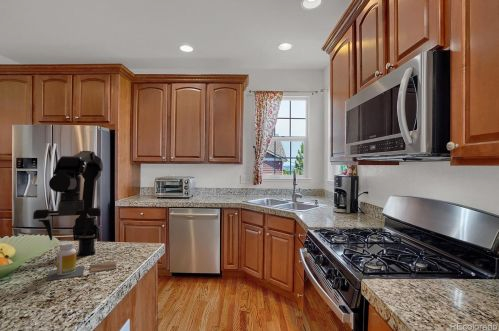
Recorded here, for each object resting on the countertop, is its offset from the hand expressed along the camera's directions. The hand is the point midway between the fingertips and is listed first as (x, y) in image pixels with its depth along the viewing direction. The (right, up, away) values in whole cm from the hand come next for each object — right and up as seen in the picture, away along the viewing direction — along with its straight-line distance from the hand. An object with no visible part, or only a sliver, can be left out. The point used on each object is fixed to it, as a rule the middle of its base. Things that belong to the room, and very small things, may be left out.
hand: (67, 238), depth 91 cm
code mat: (0, -12, 0) cm, 12 cm away
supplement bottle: (0, -12, 0) cm, 12 cm away
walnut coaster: (+9, -12, +6) cm, 16 cm away
